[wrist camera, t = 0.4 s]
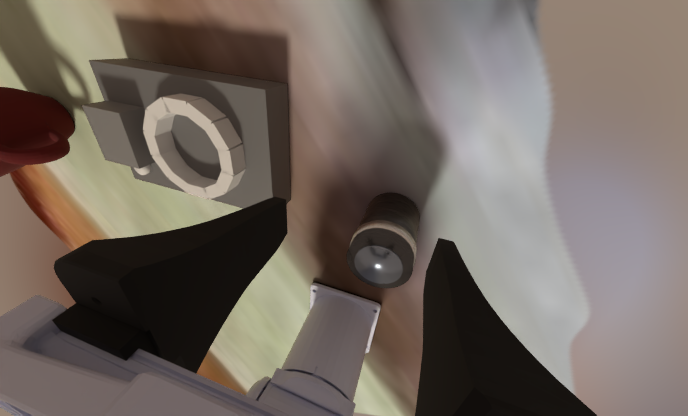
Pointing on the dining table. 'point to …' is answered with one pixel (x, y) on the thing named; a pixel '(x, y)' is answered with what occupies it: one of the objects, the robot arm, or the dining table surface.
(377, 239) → the lens
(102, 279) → the robot arm
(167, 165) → the camera body
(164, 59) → the dining table surface
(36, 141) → the mug
